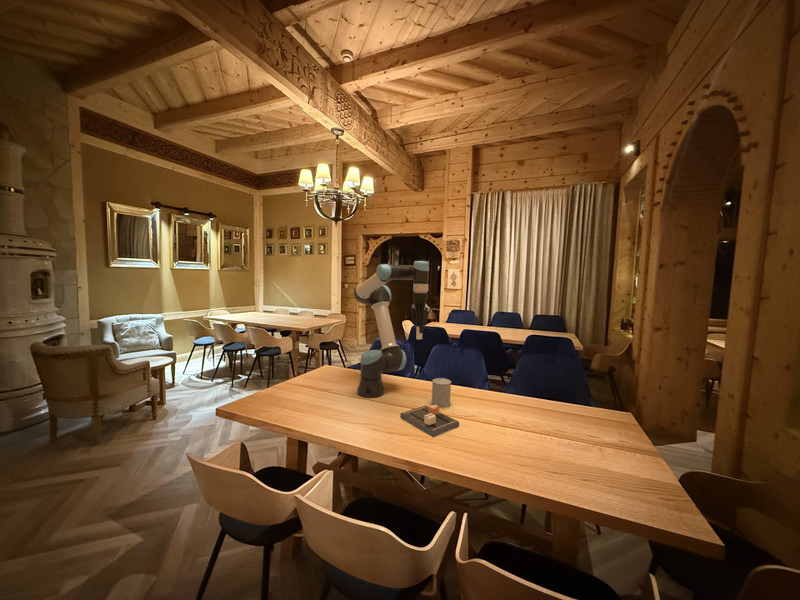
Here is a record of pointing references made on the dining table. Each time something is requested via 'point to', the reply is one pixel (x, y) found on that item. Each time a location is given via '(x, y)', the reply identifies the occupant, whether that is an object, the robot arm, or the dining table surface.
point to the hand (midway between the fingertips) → (419, 339)
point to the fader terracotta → (433, 409)
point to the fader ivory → (430, 419)
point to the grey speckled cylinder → (441, 392)
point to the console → (434, 429)
